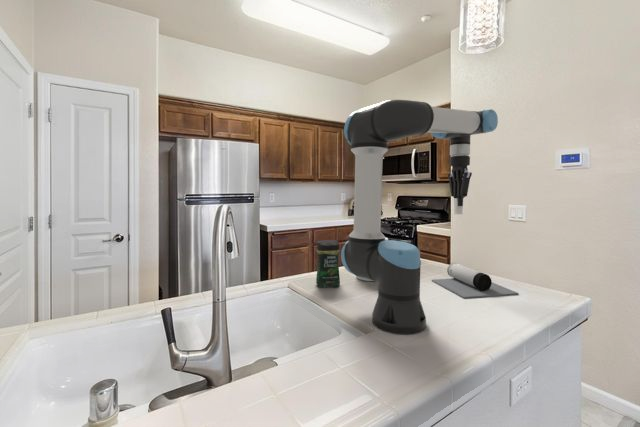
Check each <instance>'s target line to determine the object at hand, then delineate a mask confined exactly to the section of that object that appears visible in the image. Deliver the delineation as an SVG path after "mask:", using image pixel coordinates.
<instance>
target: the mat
mask: <svg viewBox="0 0 640 427" xmlns="http://www.w3.org/2000/svg"><path fill="white" fill-rule="evenodd" d="M431 282H433V283H434V284H436V285H437V286H440V287H441V288H444V289H445V290H448V291H449V292H451V293H452V294H455V295H456V296H458V297H460V298H462V299H475V298H490V297H493V298H494V297H501V296H502V297H505V296H515V295H516V296H519V292H517V291H514V290H513V289H509V288H507V287H505V286H503V285H499V284H497V283H495V282H493V281H492V284H491V287H490V288H489V289H488V290H486V291H480V290H479V289H478V288H476V287H473V286H471V285H469V284H466V283H464V282H462V281H460V280H457V279H455V278H453V277H450V278H437V279H435V278H434V279H431Z"/></svg>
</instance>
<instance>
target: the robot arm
mask: <svg viewBox="0 0 640 427" xmlns="http://www.w3.org/2000/svg"><path fill="white" fill-rule="evenodd" d="M498 124H499V118H498V114H497V113H496V110H494V109H491V108H490V109H483V110H480V111H478V110H477V111H475V110H463V109H458V108H457V109H454V108H447V107H438V106H432V105H430V103H428V102H425V101H419V100H418V101H417V100H411V99H388V100H387V99H386V100H385V101H381V102H379V103H376V104H372V105H370V106H366V107H361V108H359V109H358V110H355V111H353V112H351V113H350V115H349V116H348V117H347V118H346V120H345V124H344V128H343V132H344V138H345V139H346V142H347V143H348V145H350V152H352V153H353V154H354V157H355V162H354V163H355V164H354V166H355V167H354V168H355V169H354V173H355V174H354V194H353V195H354V198H353V202H354V204H353V230H352V231H351V232H350V233H349V234H348V240H347V241H346V242H345V243H344V245H343V246H342V249H341V250H340V252H341V254H340V256H341V257H340V258H341V259H340V260H341V263H342V265H343V267H344V268H345V270H346V271H347V272H348V273H351V274H353V275H354V276H355V277H356V276H359V277H363V278H366V279H369V280H372V281H371V282H376V283H378V284H377V286H378V291H377V292H378V294H377V299H376V302H375V305H374V307H373V310H372V317H371V323H372V324H373V326H374V327H375V328H377V329H378V330H381V331H383V332H386V333H390V334H395V335H414V334H418V333H421V332H423V331H424V330H425V329H426V328H427V318H426V317H427V316H426V314H425V311H424V308H423V305H422V301H421V265H422V260H421V252H420V249H419V248H418V247H417V246H416V245H414V244H412V243H410V242H406V241H401V240H400V241H399V240H395V239H391V240H390V239H388V240H386V241H385V237H386V236H385V235H384V234H383V232H382V231H381V227H382V226H381V225H382V222H381V220H382V190H383V189H382V188H383V159H384V155H386V153H387V152H388V151H389V142H393V141H394V142H395V141H398V140H402V139H405V138H410V137H416V136H417V137H420V136H424V135H426V134H427V133H430V135H431V136H432V137H434V138H437V139H439V140H448V141H449V156H450V157H449V166H450V167H452V168H451V173H448V174H447V177H448V180H449V190H450V197H452V198H453V199H454V201H453V205H454V209H453V211H454V212H453V214H454V215H463V206H464V198H466V197H468V192H469V187H470V181H471V177H472V175H473V173H472V171H470V172H469V170H468V166H470V165H471V164H470V163H471V156H470V154H471V137H472V135H480V134H486V133H491V132H493V131H495V130H496V129H497V127H498Z"/></svg>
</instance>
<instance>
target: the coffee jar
mask: <svg viewBox="0 0 640 427" xmlns="http://www.w3.org/2000/svg"><path fill="white" fill-rule="evenodd" d="M340 252H341V248H340V243H339V241H338V240H336V239H335V240H334V239H327V240H326V239H325V240H317V244H316V254H317V268H316V271H317V272H316V279H315V283H316V286H317V287H320V288H334V287H335V288H336V287H338V286H340V284H341V281H340V277H341V276H340V269H339V255H340Z"/></svg>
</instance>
